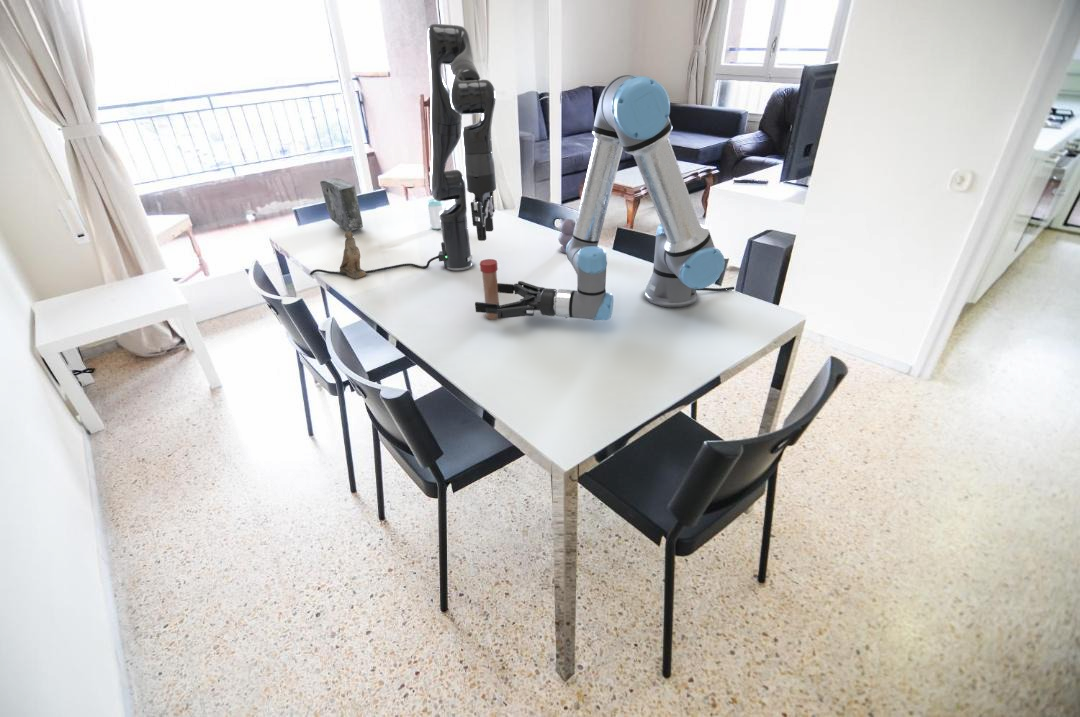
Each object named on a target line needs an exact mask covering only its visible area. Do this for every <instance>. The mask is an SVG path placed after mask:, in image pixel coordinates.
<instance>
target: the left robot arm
mask: <svg viewBox="0 0 1080 717" xmlns="http://www.w3.org/2000/svg"><path fill="white" fill-rule="evenodd" d="M471 43H472V42H471V38H470V35H469V32H468V30H467V29H466V28H465V27H464V26H461V25H457V24H445V23H444V24H443V23H431V24H430V25H429V26H428V29H427V56H428V70H429V82H430V83H429V85H430V110H429V112H430V114H429V116H430V140H431V141H430V142H431V160H430V174H429V175H430V177H429V185H430V193H431V195H432V197H433V198H432V199H435V200H436V201H442V202H446V201H451V203H450V204H448V205H447V206H446V207H444V209H443V210H442V211H441V212H440V223H441V229H440V230H441V235H442V242H441V243H440V246H441V250H439V252H438V255H436V256H434V257H431V258H430V259H428V260H427V263H426V265H423V266H422V265H418V264H416V263H411V262H410V263H408V262H407V263H401V264H396V265H390V266H385V267H380V268H374V269H370V270H364V271H365V273H366V274H372V273H376V272H377V273H378V272H382V271H386V270H387V271H388V270H392V269H396V268H397V269H398V268H402V267H415V268H417V269H423V270H424V269H428V268H429V267H430V264H431V262H433V261H435V260H437V259H438V262H443V267H444V269H445V270H449V271H454V272H459V271H467V270H469V269H471V268H472V266H473V260H472V259H473V254H472V250H471V242H470V234H469V224H468V216H467V212H468V208H467V207H468V206H467V195H466V191H467V192H468V193H470V194H473V195H474V198H473V201H471V202H470V211H471V212H470V213H471V219H472V220H471V221H472V226H473V227H476V237H477V241H479V242H484V241H486V240H487V232H493V231H494V218H493V217H494V213H495V211H496V209H495V200H494V191H496V190H497V181H496V180H497V178H496V168H495V159H494V154H493V142H492V124H493V116H494V111H495V106H496V100H497V99H496V98H497V94H496V89H495V87H494V84H493V83H492V82H491V80H488V79H481V76H480V73H479V72H478V69H477V67H476V65H475V60H474V54H473V53H474V52H473V48H472V44H471ZM442 65H443V66H444V65H449V66H448V76H449V77H448V78H449V80H450V84H451V85H450V89H449V87H448V84H447V82H446V80H445V78H444V75H443V73H442ZM463 115H480V117H479V120H478V121H477V122H475V123H473V124H469V125H466V126H463V128H462V125H463V124H462V122H463V119H462V118H463ZM460 139H461V140H462V148H463V149H462V150H463V168H464V175H463V173H462V172H461V170H459V169H450V170H446V166H447V163H448V160H449V158H450V156H451V155H452V153H453V151H454V150H455V148H456V147H457V146H458V143H459V141H460ZM464 177H465V178H464ZM315 273H324V274H329V275H341V276H347V273H345V272H340V271H334V270H333V271H332V270H326V269H320V268H317V269H313V270H312V271H310V272H309V275H310V276H312V275H314V274H315Z"/></svg>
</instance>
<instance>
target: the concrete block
mask: <svg viewBox="0 0 1080 717" xmlns="http://www.w3.org/2000/svg"><path fill="white" fill-rule="evenodd" d="M319 183H320V187H321V191H322V195H323V198H324V199H323V200H324V202H325V206H326V209H327V212H328V216H329V218H330V220H332V221H333V222H334V223H336V224H337V225H338V226H339V227H341V228H342V229H343V230H345V231H348V230H350V231H352V232H353V231H354V230H358V229H361V228H363V227H364V224H363V218H362V214H361V210H360V205H359V204H360V203H359V200H358V195H357V194H358V193H357V189H356V186H355V185H354V184H353V183H351V182H350V181H347V180H345V179H341V178H336V177H332V178H327V179H322V180H320V182H319Z"/></svg>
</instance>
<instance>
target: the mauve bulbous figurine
mask: <svg viewBox="0 0 1080 717" xmlns="http://www.w3.org/2000/svg"><path fill="white" fill-rule="evenodd" d="M559 221H560V225H559V229H560V232H561V233H560V234H559V235H558V243H559V244H560V245H561V246H560V252H561V253H563V254H567V253H566V246H567V244H568V242H569V241H570V240H571V239H572V236H573V232H574V227H575V223H576V220H574V219H571V218H568V219H563V218H559Z"/></svg>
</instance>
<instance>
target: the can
mask: <svg viewBox="0 0 1080 717" xmlns="http://www.w3.org/2000/svg"><path fill="white" fill-rule="evenodd" d="M426 207H427V211H428V212H427V213H428V219H429V226H430V228H431V229H433V230H442V229H441V223H440V212H441V211H442V210H443V209H445V205H444V201H436V200H435V199H434V198H432V199H428V201H427V204H426Z"/></svg>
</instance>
